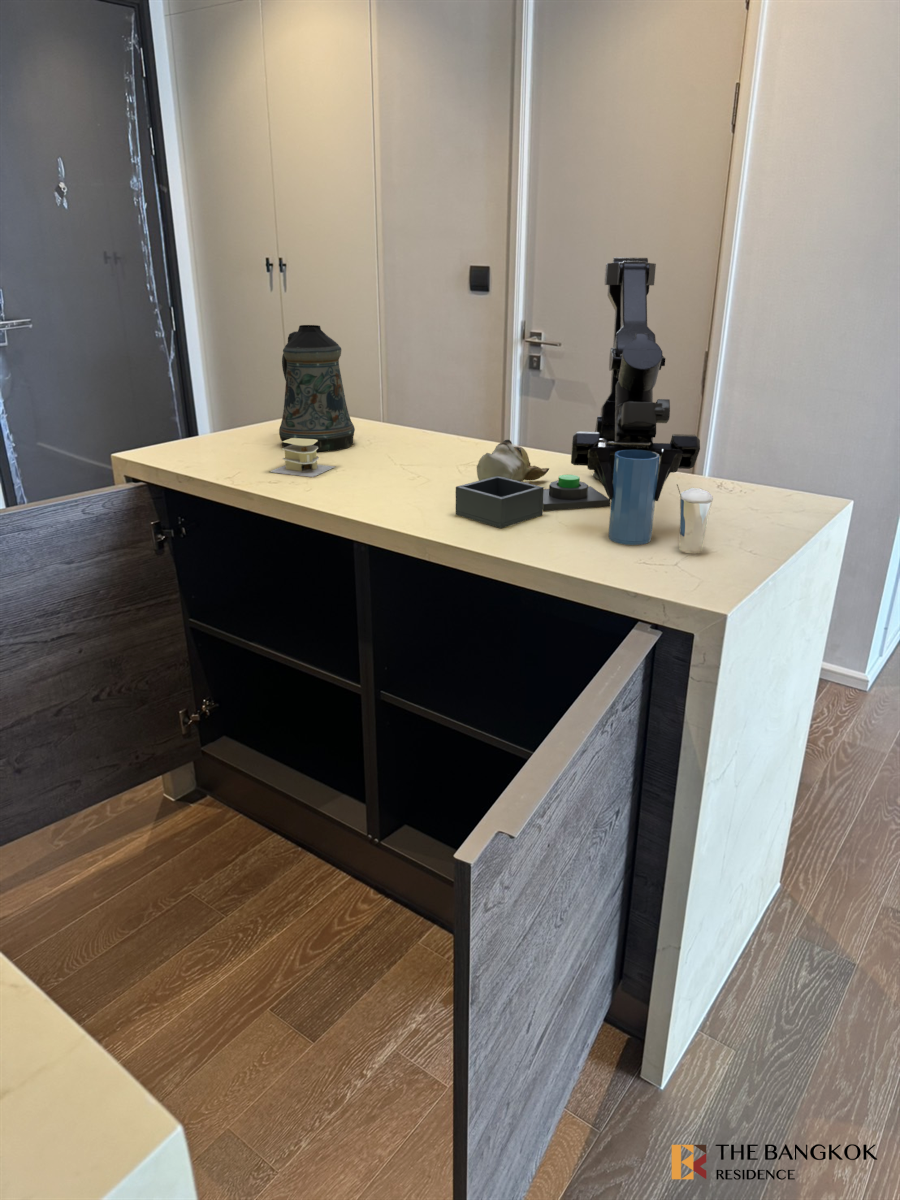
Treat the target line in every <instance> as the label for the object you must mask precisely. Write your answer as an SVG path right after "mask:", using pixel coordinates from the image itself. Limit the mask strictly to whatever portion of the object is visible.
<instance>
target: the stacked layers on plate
mask: <svg viewBox="0 0 900 1200" xmlns="http://www.w3.org/2000/svg"><path fill="white" fill-rule="evenodd" d="M317 441H318V440H316V439H301V438H290V439H288V440H285V441H281V443H282V442H284V443H289V444H292V445H289V446H287V447H282V448H281V450H282V451H284V457H283V458H282V461H284V465H282V466H279V467H277V468H274V469H272V470H270V471H269V473H274V474H275V473H276V474H283V475H292V476H301V477H309V478H315V477H316V476H319V475H321V474H323V473H326V472H327V471H330V470H332V469H334V468H337V466H335V465H328V464H327V465H325V464H324V465H323V464H318V460H319V459H320V457H319V456H318V452H316V450H317V449H318V446H312V445H313V444H315V443H316V442H317Z"/></svg>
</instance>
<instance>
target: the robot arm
mask: <svg viewBox="0 0 900 1200" xmlns="http://www.w3.org/2000/svg"><path fill="white" fill-rule="evenodd" d="M656 267H657V263H655V262H653V263H652V262H649V258H648V257H613V258H612V262H609V263H606V264H605V269H604V271H605V272H604V286H607V298H608V300H609V302H610V304H611V306H612V307H613V309H614V323H613V324H614V325H613V342H612V343H613V344H612V347H610V350H609V359H608V370H609V371H611V373H610V374H611V377H610V390H609V391H610V392H609V395H608V396H607V398H606V399H605V401H604V403H603V404H602V406H600V407H601V408H600V415H597V416H596V422H595V431H579V430H577V431H575V432H574V433H573V435H572V442H571V452H570V453H571V455H570V464H571V465H572V466H583V467H584V466H587V470H589V471H593V473H592V477H594V478H595V479H597V480H599V481H600V482H601V485H602V486H603V488H604V491H605V493H606V495H607V498H609V499H610V500H612V497H613V471H614V458H615V452H617V451H621V450H631V449H634V450H646V451H651V452H655V453H657V454H659V456H660V458H659V468H658V478H657V488H656V497H655V502H659V499H660V497H661V494H662V492H663V488H664V485H665V483H666V482H667V479H668V478H669V476H670V474H671V473H677V472H678V470H680V469H681V470H684V469H685V470H690V469H693V468H695V465H696V462H697V459H698V456H699V453H700V452H701V451H700V450H701V440H700V438H699V437H698V436H697V435H696V434H684V433H681V434H680V433H673V434H672V435H671V439H670V442H668V443H666V442H665V443H664V442H654V438H655V439H656V435H657V424H667V423H668V422H669V421H670V417H671V416H670V415H671V400H670V399H665V398H664V399H663V398H661V399H660V398H659V399H656V402H654V390H653V389H654V387H655V386H656V384H657V381H658V376H659V372H660V371H661V370H662V367H665V366H666V357H664V356H663V350H662V348H661V346H660V345H659V344H658V343H657V341H656V340H657V339H656V334H655V332H653V330H651V329H650V327H649V326H648V295H649V293H650V286H655V279H656V270H657V269H656Z"/></svg>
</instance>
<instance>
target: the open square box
mask: <svg viewBox="0 0 900 1200" xmlns="http://www.w3.org/2000/svg"><path fill="white" fill-rule="evenodd" d="M544 489H545V487H544V486H540V485H536V484H532V483H528V482H524V481H521V482H520V481H516V480H512V479H508V478H504V477H500V476H495V477H491V478H487V479H484V480H480V481H479V480H476V481H472V482H469V483H464V484H462V485H457V486H455V516H459V517H462V518H465V519H468V520H471V521H475V522H479V523H481V524H485V525H488V526H491V527H495V528H499V529H504V528H507V527H510V526H513V525H517V524H519V523H523V522H526V521H529V520H532V519H536V518H538V517H542V516H543V514H544V513H543V512H544V511H543V491H544Z"/></svg>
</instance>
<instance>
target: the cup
mask: <svg viewBox="0 0 900 1200" xmlns="http://www.w3.org/2000/svg"><path fill="white" fill-rule="evenodd" d="M659 463H660V456H659V454H657V453H655V452H651V451H646V450H634V449H631V450H621V451H617V452H615V458H614V471H613V497H612V500H611V502H610V508H609V509H610V511H609V524H608V539H609V540H610V541H611V542H614V543H616V544H619V545H625V546H626V545H627V546H642V545H646V544H648V543H650V542H651V541H652V536H653V527H654V517H655V507H656V501H655V497H656V488H657V478H658V468H659Z"/></svg>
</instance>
